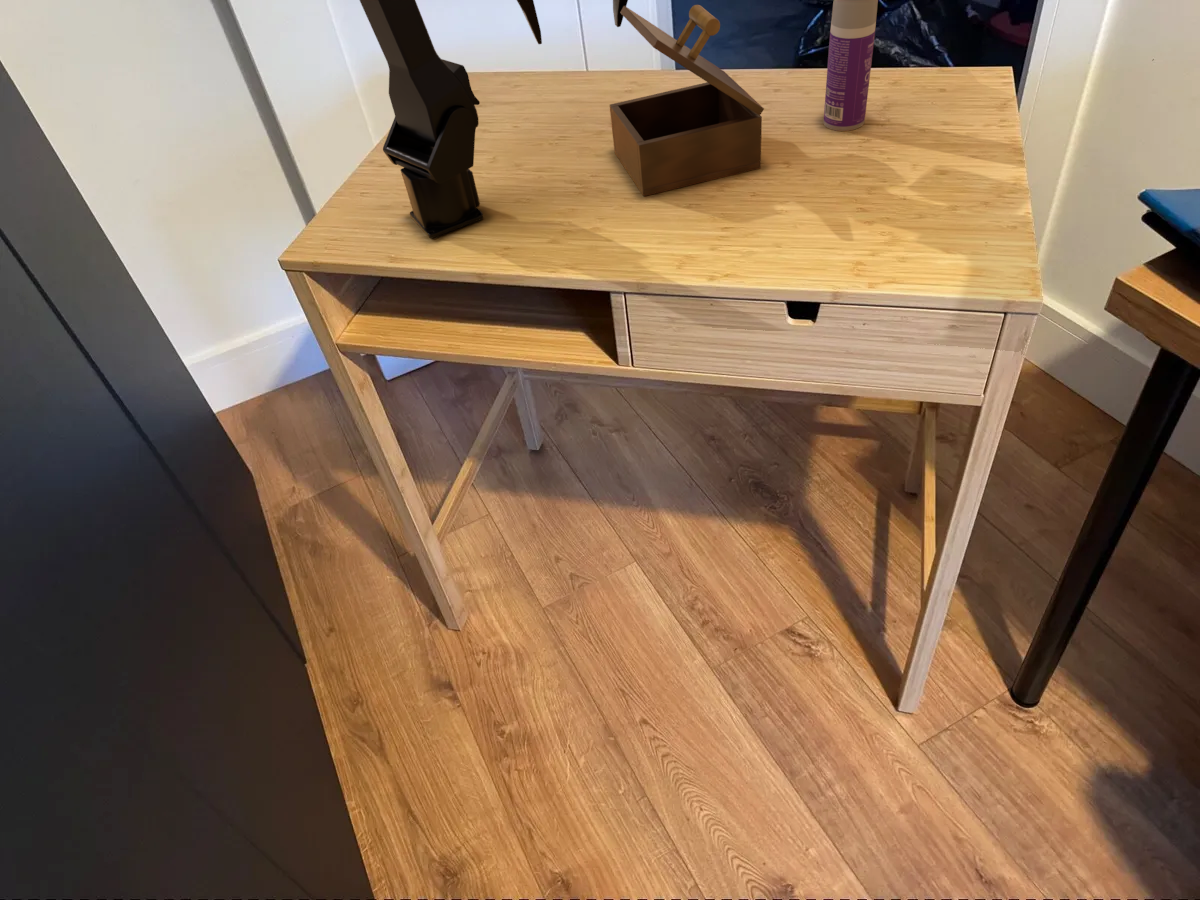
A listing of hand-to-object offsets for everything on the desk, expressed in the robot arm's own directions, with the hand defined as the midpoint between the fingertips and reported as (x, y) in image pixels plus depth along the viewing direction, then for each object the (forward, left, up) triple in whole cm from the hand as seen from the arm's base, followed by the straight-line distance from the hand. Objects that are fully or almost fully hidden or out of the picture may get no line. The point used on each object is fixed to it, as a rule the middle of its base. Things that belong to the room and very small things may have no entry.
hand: (578, 34), depth 92 cm
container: (+24, -18, -12) cm, 32 cm away
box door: (+6, -13, -2) cm, 15 cm away
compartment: (+5, -13, -12) cm, 18 cm away
